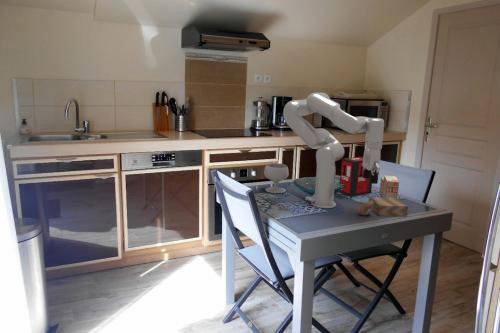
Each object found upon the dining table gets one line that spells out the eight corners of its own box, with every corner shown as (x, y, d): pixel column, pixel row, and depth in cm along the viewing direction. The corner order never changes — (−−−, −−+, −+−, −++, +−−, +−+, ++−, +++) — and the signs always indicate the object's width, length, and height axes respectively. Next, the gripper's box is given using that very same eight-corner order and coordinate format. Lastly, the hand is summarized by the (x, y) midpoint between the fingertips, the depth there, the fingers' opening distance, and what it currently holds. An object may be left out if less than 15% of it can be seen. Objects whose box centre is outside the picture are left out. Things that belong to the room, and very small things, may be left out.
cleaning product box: (359, 189, 229) (362, 156, 224) (371, 193, 221) (374, 159, 217) (338, 192, 221) (341, 158, 216) (350, 196, 213) (353, 161, 209)
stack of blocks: (379, 191, 225) (381, 171, 223) (390, 192, 224) (392, 172, 222) (384, 202, 205) (387, 180, 202) (396, 203, 204) (399, 181, 201)
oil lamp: (371, 213, 188) (373, 197, 186) (376, 215, 184) (378, 200, 182) (355, 214, 185) (357, 198, 183) (360, 217, 181) (361, 201, 180)
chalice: (289, 188, 225) (290, 163, 222) (285, 195, 212) (287, 169, 208) (265, 186, 228) (267, 162, 225) (261, 193, 215) (262, 167, 211)
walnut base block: (378, 215, 184) (379, 206, 183) (368, 206, 198) (369, 197, 197) (407, 216, 185) (408, 206, 184) (394, 206, 199) (395, 197, 197)
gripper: (359, 142, 185) (356, 176, 189) (372, 148, 168) (368, 185, 172) (374, 142, 186) (371, 176, 189) (389, 148, 169) (385, 185, 172)
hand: (370, 180), depth 181 cm, fingers open, 9 cm apart
